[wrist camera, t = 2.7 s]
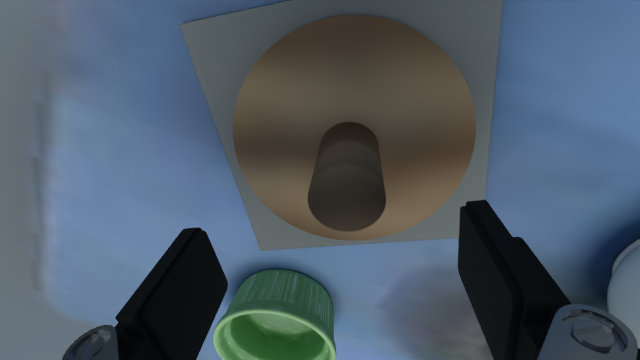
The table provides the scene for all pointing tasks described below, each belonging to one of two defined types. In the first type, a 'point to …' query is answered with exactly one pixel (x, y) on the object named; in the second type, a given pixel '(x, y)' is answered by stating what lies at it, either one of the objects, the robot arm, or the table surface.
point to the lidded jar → (626, 289)
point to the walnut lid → (354, 127)
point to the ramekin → (277, 320)
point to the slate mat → (319, 3)
